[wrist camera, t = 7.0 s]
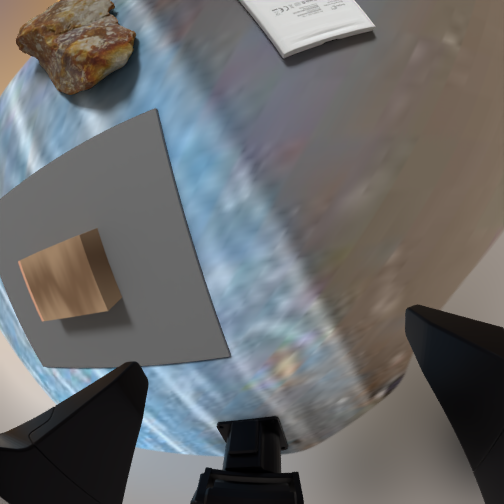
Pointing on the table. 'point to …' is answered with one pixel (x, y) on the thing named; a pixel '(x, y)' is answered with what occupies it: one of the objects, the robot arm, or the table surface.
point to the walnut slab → (71, 278)
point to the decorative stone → (77, 43)
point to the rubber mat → (114, 253)
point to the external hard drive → (307, 22)
